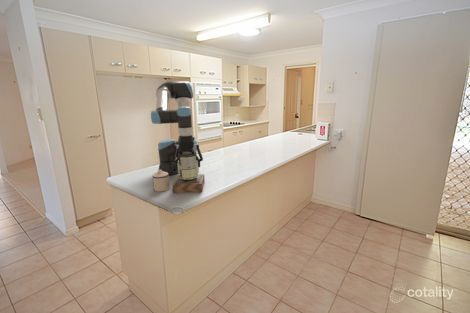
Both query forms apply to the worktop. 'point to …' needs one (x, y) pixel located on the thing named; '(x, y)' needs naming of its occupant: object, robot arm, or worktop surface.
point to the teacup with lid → (161, 181)
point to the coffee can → (187, 165)
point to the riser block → (189, 184)
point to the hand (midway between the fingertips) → (188, 172)
